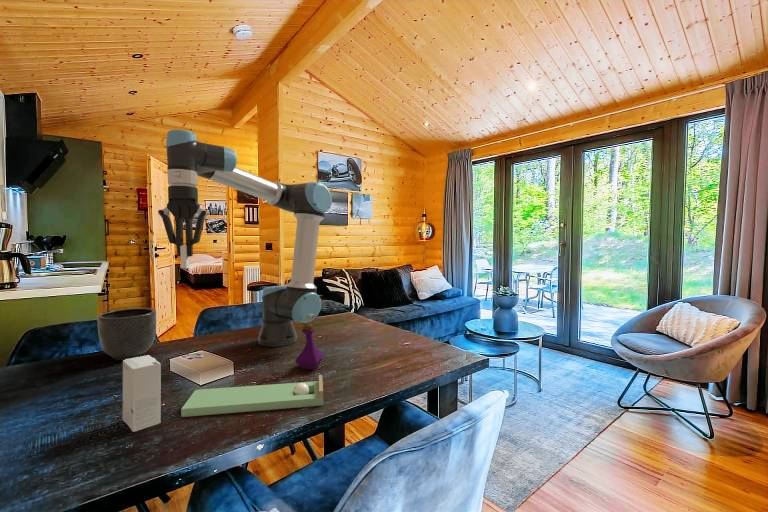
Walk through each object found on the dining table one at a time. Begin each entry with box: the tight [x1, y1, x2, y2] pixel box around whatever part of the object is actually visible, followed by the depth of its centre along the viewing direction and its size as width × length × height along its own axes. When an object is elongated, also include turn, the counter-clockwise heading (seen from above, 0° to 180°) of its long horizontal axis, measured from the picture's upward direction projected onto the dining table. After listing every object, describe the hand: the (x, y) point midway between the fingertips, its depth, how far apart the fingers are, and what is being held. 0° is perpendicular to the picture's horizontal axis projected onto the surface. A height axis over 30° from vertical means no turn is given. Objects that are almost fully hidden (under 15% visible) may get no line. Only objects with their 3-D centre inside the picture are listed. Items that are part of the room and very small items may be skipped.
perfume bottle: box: [295, 314, 325, 371], centre depth 121 cm, size 8×8×18 cm
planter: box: [96, 307, 158, 361], centre depth 131 cm, size 17×17×16 cm
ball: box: [294, 382, 310, 395], centre depth 99 cm, size 4×4×4 cm
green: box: [180, 374, 324, 418], centre depth 97 cm, size 11×34×4 cm, turn 101°
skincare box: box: [122, 354, 162, 433], centre depth 86 cm, size 8×6×15 cm
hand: (185, 267), depth 107 cm, fingers closed
